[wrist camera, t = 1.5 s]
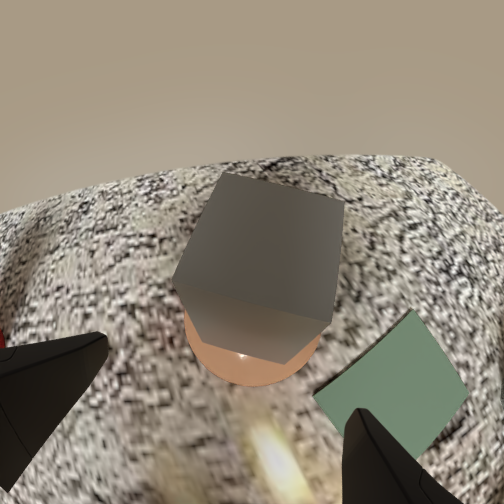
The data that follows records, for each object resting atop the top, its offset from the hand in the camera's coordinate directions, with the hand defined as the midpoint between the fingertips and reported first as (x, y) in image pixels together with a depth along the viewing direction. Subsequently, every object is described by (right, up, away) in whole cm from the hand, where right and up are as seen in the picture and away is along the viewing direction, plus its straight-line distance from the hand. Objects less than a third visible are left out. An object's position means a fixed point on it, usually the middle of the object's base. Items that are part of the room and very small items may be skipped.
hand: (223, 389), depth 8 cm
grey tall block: (+1, -1, +13) cm, 13 cm away
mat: (+14, -9, +11) cm, 20 cm away
